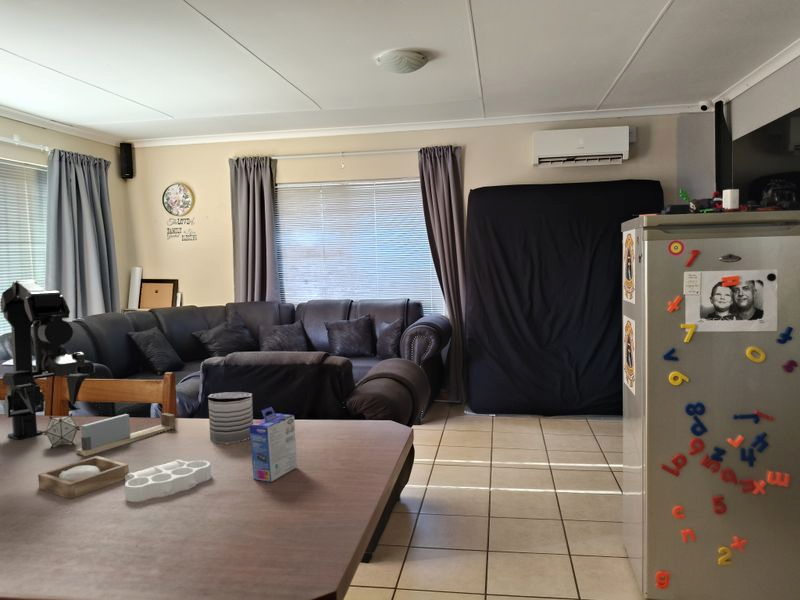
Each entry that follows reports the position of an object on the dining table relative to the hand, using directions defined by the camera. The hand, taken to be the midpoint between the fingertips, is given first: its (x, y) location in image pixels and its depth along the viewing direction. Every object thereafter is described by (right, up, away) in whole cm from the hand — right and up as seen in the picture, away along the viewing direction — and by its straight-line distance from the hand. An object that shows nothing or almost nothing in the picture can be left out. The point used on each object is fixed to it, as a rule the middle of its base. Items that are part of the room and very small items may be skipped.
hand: (53, 408), depth 140 cm
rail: (+10, -12, +17) cm, 23 cm away
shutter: (+7, -11, +12) cm, 17 cm away
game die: (-6, -12, +14) cm, 19 cm away
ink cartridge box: (+55, -13, -10) cm, 57 cm away
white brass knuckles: (+33, -14, -15) cm, 39 cm away
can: (+38, -11, +17) cm, 43 cm away
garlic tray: (+14, -14, -13) cm, 23 cm away
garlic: (+13, -14, -13) cm, 23 cm away
